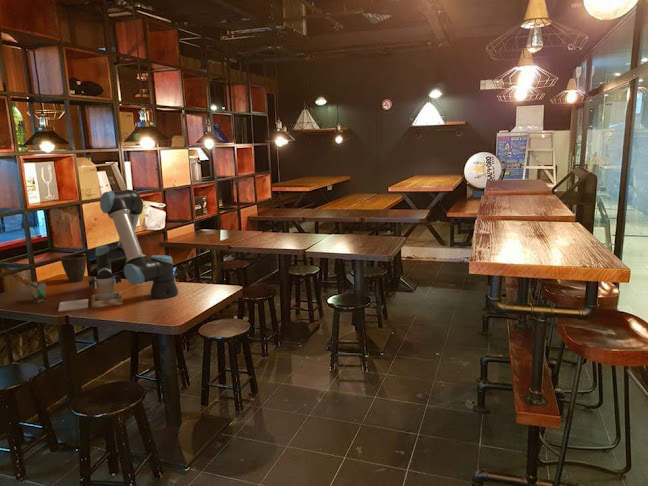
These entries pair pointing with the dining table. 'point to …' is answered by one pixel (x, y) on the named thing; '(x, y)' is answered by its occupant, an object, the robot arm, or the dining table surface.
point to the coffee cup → (105, 285)
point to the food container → (38, 291)
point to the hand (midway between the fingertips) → (105, 285)
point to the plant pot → (74, 266)
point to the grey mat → (73, 305)
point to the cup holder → (106, 302)
